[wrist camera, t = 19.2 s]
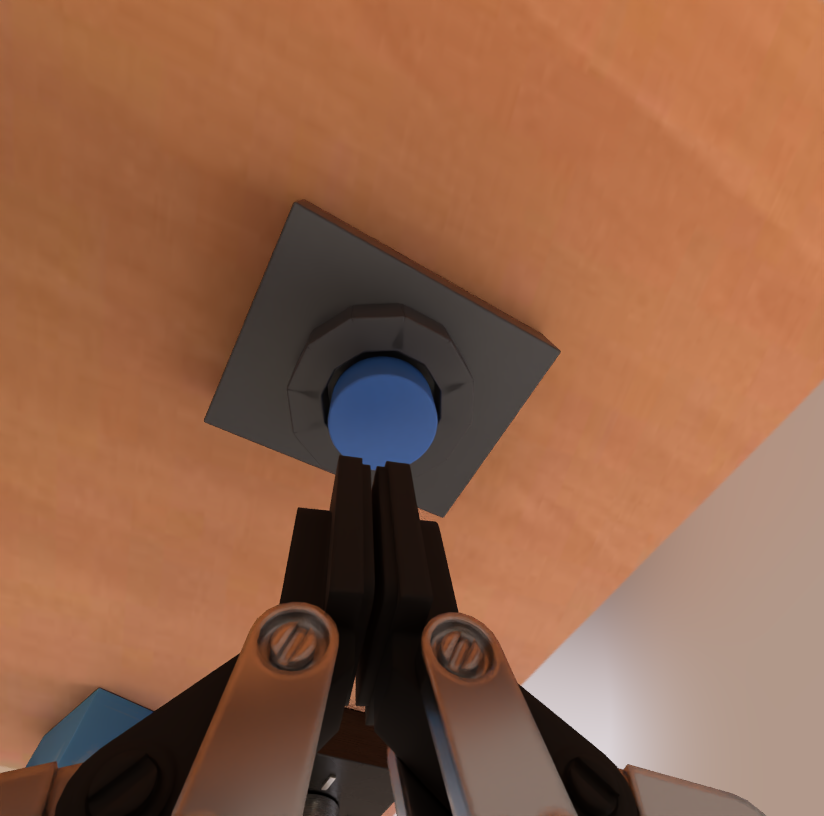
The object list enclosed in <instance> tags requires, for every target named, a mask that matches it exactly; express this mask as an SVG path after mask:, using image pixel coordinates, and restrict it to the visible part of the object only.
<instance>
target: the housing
mask: <svg viewBox="0 0 824 816" xmlns="http://www.w3.org/2000/svg"><path fill="white" fill-rule="evenodd" d="M560 352H561V351H560V350H559V349H558V348H557V347H556V346H555V345H554V344H553V343H551V342H550V341H549V340H548V339H547V338H546V337H545V336H544V335H543V334H541V333H539V332H537V331H536V330H534V329H532V328H530V327H529V326H527V325H525V324H523V323H521V322H520V321H518V320H516V319H514V318H513V317H511V316H509V315H507V314H506V313H504V312H502V311H500V310H499V309H497V308H495V307H493V306H492V305H490V304H488V303H486V302H484V301H483V300H481V299H479V298H477V297H476V296H474V295H472V294H470V293H469V292H467V291H465V290H463V289H462V288H460V287H458V286H456V285H454V284H453V283H451V282H449V281H447V280H446V279H444V278H442V277H440V276H439V275H437V274H435V273H433V272H432V271H430V270H428V269H426V268H424V267H423V266H421V265H419V264H417V263H416V262H414V261H412V260H410V259H409V258H407V257H405V256H403V255H402V254H400V253H398V252H396V251H395V250H393V249H391V248H389V247H387V246H386V245H384V244H382V243H380V242H379V241H377V240H375V239H373V238H372V237H370V236H368V235H366V234H365V233H363V232H361V231H359V230H357V229H356V228H354V227H352V226H350V225H349V224H347V223H345V222H343V221H342V220H340V219H338V218H336V217H335V216H333V215H331V214H329V213H327V212H326V211H324V210H322V209H320V208H319V207H317V206H315V205H313V204H312V203H310V202H308V201H306V200H299V201H296V202H294V203H293V205H292V207H291V210H290V212H289V215H288V217H287V219H286V222H285V224H284V227H283V229H282V232H281V234H280V236H279V239H278V241H277V244H276V246H275V249H274V251H273V253H272V256H271V258H270V261H269V263H268V266H267V268H266V270H265V273H264V275H263V278H262V280H261V282H260V285H259V287H258V290H257V292H256V295H255V297H254V299H253V302H252V304H251V307H250V309H249V312H248V314H247V316H246V319H245V321H244V324H243V326H242V329H241V331H240V333H239V336H238V338H237V341H236V343H235V346H234V348H233V350H232V353H231V355H230V358H229V360H228V362H227V365H226V367H225V370H224V372H223V375H222V377H221V379H220V382H219V384H218V387H217V389H216V392H215V394H214V396H213V399H212V401H211V404H210V406H209V409H208V411H207V413H206V416H205V418H204V422H205V423H208V424H210V425H213V426H215V427H218V428H220V429H223V430H225V431H228V432H230V433H233V434H235V435H238V436H240V437H243V438H245V439H248V440H250V441H253V442H255V443H258V444H260V445H263V446H265V447H268V448H270V449H273V450H275V451H278V452H280V453H283V454H285V455H288V456H290V457H293V458H295V459H298V460H300V461H303V462H305V463H308V464H310V465H313V466H315V467H318V468H320V469H323V470H325V471H328V472H330V473H332V474H335V475H336V469H337V463H338V458H339V455H342V454H341V453H340V452H339V451H338V450H337V448H336V447H335V446H334V444H333V442H332V440H331V437H330V434H329V430H328V414H329V409H330V404H331V398H332V393H333V390H334V387H335V385H336V382H337V381H338V379H339V377H340V376H341V375H342V374H343V373H344V372H345V371H346V370H347V369H348V368H349V367H351V366H352V365H353V364H355V363H357V362H359V361H361V360H364V359H367V358H371V357H378V356H387V357H394V358H398V359H401V360H403V361H406V362H408V363H409V364H411V365H413V366H414V367H415V368H416V369H418V370H419V371H420V372H421V373H422V375H423V376H424V377H425V379H426V380H427V382H428V384H429V387H430V389H431V393H432V397H433V400H434V404H435V407H436V412H437V418H438V424H437V431H436V435H435V437H434V440H433V442H432V443H431V445H430V447H429V448H428V449H427V451H426V452H425V453H424V454H423V455H422V456H421V457H420V458H418V459H417V460H416V461H414V462H412V463H411V464H410V467H411V473H412V479H413V485H414V490H415V496H416V502H417V507H418V508H420V509H422V510H425V511H427V512H430V513H432V514H435V515H437V516H440V517H442V518H443V517H444V516H445V515H446V514H447V512H448V511H449V509H450V508H451V506H452V505H453V504H454V502H455V501H456V499H457V498H458V497H459V495H460V494H461V492H462V491H463V490H464V488H465V487H466V485H467V484H468V482H469V481H470V480H471V478H472V477H473V475H474V474H475V473H476V471H477V470H478V468H479V467H480V465H481V464H482V463H483V461H484V460H485V458H486V457H487V456H488V454H489V453H490V451H491V450H492V449H493V447H494V446H495V444H496V443H497V441H498V440H499V439H500V437H501V436H502V434H503V433H504V432H505V430H506V429H507V427H508V426H509V425H510V423H511V422H512V420H513V419H514V417H515V416H516V415H517V413H518V412H519V410H520V409H521V408H522V406H523V405H524V403H525V402H526V401H527V399H528V398H529V396H530V395H531V393H532V392H533V391H534V389H535V388H536V386H537V385H538V384H539V382H540V381H541V379H542V378H543V376H544V375H545V374H546V372H547V371H548V369H549V368H550V367H551V365H552V364H553V362H554V361H555V360H556V358H557V357H558V355H559V354H560ZM375 471H376V470H371V489H372V485H373V480H374V475H375Z"/></svg>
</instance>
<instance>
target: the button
mask: <svg viewBox="0 0 824 816" xmlns="http://www.w3.org/2000/svg"><path fill="white" fill-rule="evenodd" d="M437 424H438V418H437V412H436V407H435V404H434V400H433V397H432V393H431V389H430V387H429V384H428V382H427V380H426V379H425V377H424V376H423V375H422V373H421V372H420V371H419V370H418V369H416V368H415V367H414V366H413V365H411V364H409V363H408V362H406V361H403V360H401V359H398V358H394V357H387V356H378V357H371V358H367V359H364V360H361V361H359V362H357V363H355V364H353V365H352V366H351V367H349V368H348V369H347V370H346V371H345V372H344V373H343V374H342V375H341V376H340V377H339V379H338V381H337V382H336V385H335V387H334V390H333V393H332V398H331V404H330V409H329V414H328V430H329V434H330V437H331V440H332V442H333V444H334V446H335V447H336V448H337V450H338V451H339V452H340V453H341V454H342V455H343V456H351V457H359V458H362V463H363V464H366V465H370V466H371V470H376V467H377V466H382V467H384V466H385V463H386V461H391V462H399V463H407V464H411V463H412V462H414V461H416V460H417V459H418V458H420V457H421V456H422V455H423V454H424V453H425V452H426V451H427V449H428V448H429V447H430V445H431V443H432V442H433V440H434V437H435V435H436V431H437Z"/></svg>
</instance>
